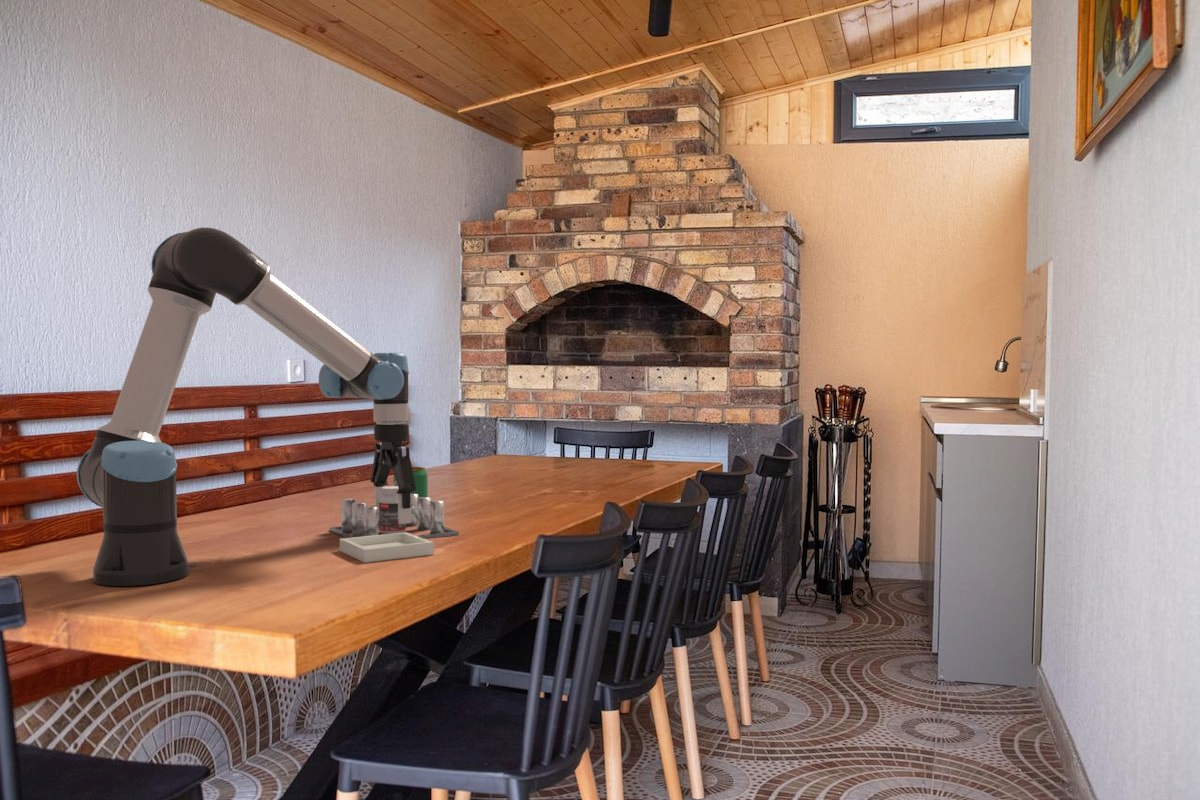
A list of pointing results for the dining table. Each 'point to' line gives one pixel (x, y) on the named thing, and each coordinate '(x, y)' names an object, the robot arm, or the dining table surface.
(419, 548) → the dish
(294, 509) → the dining table surface
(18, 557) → the dining table surface
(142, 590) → the dining table surface
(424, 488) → the beverage can
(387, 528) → the pill bottle
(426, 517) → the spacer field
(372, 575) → the dining table surface
